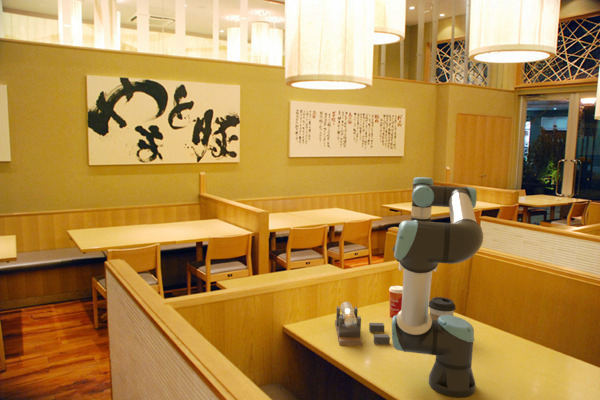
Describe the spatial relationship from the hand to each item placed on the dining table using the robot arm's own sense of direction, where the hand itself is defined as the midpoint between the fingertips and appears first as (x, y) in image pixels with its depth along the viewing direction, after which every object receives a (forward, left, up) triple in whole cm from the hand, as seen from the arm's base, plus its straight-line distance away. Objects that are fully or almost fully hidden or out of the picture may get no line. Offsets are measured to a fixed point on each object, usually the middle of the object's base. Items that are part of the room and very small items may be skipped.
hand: (417, 270), depth 188 cm
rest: (+9, +12, -32) cm, 35 cm away
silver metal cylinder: (+11, +25, -26) cm, 37 cm away
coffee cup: (+13, -15, -32) cm, 38 cm away
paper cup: (+32, 0, -32) cm, 45 cm away
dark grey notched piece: (+11, +25, -32) cm, 42 cm away
